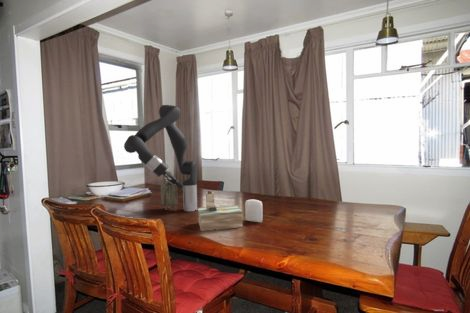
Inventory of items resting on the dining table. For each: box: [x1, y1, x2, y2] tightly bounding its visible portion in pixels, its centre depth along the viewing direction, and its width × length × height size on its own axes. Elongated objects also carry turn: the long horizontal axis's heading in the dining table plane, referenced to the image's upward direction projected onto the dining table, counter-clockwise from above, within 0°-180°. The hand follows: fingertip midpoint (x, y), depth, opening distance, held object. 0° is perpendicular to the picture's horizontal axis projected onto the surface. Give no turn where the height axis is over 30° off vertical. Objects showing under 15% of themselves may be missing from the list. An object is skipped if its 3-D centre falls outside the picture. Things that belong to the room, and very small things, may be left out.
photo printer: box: [244, 198, 264, 223], centre depth 161 cm, size 10×4×12 cm, turn 60°
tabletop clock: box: [160, 179, 179, 212], centre depth 192 cm, size 14×9×25 cm, turn 22°
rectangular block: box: [197, 204, 244, 232], centre depth 155 cm, size 16×23×10 cm
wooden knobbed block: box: [205, 190, 215, 211], centre depth 154 cm, size 4×4×10 cm
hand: (181, 187), depth 151 cm, fingers closed
